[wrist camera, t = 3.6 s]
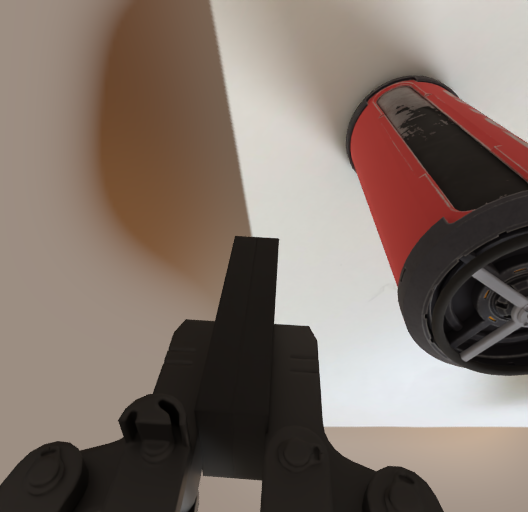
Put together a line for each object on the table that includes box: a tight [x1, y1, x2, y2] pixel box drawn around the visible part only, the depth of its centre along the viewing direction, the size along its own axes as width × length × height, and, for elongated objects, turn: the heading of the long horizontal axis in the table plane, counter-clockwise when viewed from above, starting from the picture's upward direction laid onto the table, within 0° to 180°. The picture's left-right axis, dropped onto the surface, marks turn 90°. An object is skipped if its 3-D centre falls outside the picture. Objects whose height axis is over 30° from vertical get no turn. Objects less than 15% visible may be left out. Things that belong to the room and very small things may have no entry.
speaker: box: [346, 76, 528, 376], centre depth 19 cm, size 8×8×18 cm
